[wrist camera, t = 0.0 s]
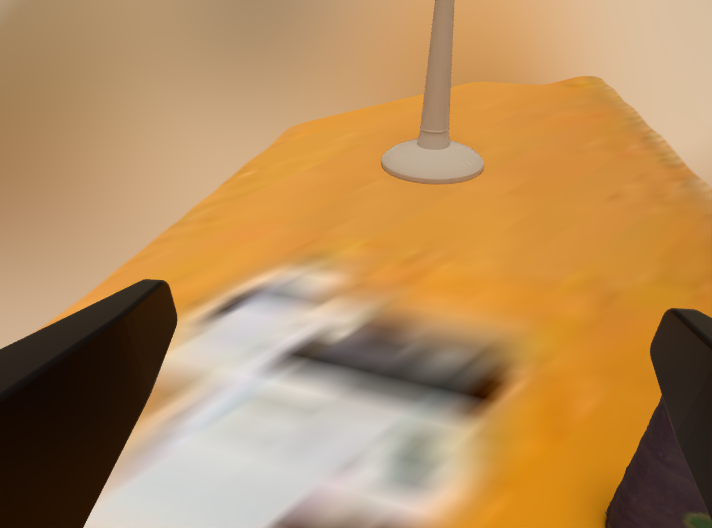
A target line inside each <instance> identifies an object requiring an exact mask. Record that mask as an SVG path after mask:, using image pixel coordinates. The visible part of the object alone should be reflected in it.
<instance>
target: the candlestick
mask: <svg viewBox="0 0 712 528" xmlns="http://www.w3.org/2000/svg"><path fill="white" fill-rule="evenodd" d="M453 18H454V0H435V6H434V15H433V23H432V32H431V41H430V49H429V58H428V67H427V76H426V85H425V93H424V102H423V111H422V119H421V126H420V134H419V137H418V139H415V140H410V141H406V142H403V143H400V144H397V145H395V146H394V147H392V148H390V149H389V150H388V151H387V152H385V153H384V155H383V156H382V162H381V164H382V167H383V169H384V170H385V171H386V172H387V173H389V174H390V175H392V176H395V177H397V178H400V179H403V180H407V181H411V182H416V183H424V184H451V183H458V182H463V181H467V180H470V179H473V178H475V177H477V176H478V175H479V174H481V172H482V171H483V167H484V161H483V159H482V158H481V156H480V155H479V154H478V153H477V152H475V151H474V150H473V149H471V148H470V147H468V146H466V145H463V144H460V143H458V142H454V141H450V140H449V112H450V89H451V65H452V42H453V20H454V19H453Z"/></svg>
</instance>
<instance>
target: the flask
mask: <svg viewBox="0 0 712 528" xmlns="http://www.w3.org/2000/svg"><path fill="white" fill-rule="evenodd" d="M605 513H606V515H607V520H606V526H605V528H712V521H711V519H710V516H709V514H708V512H707V509H706V507H705V505H704V502H703V500H702V498H701V495H700V493H699V491H698V489H697V486H696V484H695V482H694V479H693V477H692V475H691V472H690V470H689V468H688V465H687V463H686V461H685V459H684V456H683V454H682V452H681V449H680V447H679V444H678V442H677V439H676V437H675V434H674V431H673V428H672V425H671V422H670V419H669V416H668V413H667V409H666V406H665V403H664V399H663V396H661V399H660V402H659V404H658V406H657V407H656V409H655V411H654V413H653V415H652V418H651V420H650V422H649V425H648V426H647V430H646V431H645V433H644V435H643V437H642V438H641V440H640V443H639V446H638V448H637V451H636V453H635V454H634V456H633V458H632V460H631V462H630V464H629V465H628V467H627V468H626V471H625V474H624V477H623V479H622V481H621V483H620V485H619V486H618V488H617V490H616V492H615V494H614V497H613V499H612V501H611V502H610V505H609V507H608V509H607V512H605Z"/></svg>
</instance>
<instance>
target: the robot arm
mask: <svg viewBox="0 0 712 528" xmlns="http://www.w3.org/2000/svg"><path fill="white" fill-rule="evenodd" d="M176 325H177V312H176V308H175V305H174V301H173V297H172V294H171V290H170V287H169V285H168V283H167V282H166V281H164V280H151V279H145V280H142V281H140V282H138V283H135V284H133V285H131V286H129V287H127V288H125V289H123V290H121V291H119V292H117V293H115V294H113V295H111V296H109V297H107V298H105V299H103V300H101V301H99V302H96V303H94V304H92V305H90V306H88V307H86V308H84V309H82V310H80V311H78V312H76V313H74V314H72V315H70V316H68V317H66V318H64V319H62V320H60V321H57V322H55V323H53V324H51V325H49V326H47V327H45V328H43V329H41V330H39V331H37V332H35V333H33V334H31V335H29V336H27V337H25V338H23V339H21V340H18V341H17V342H14V343H13V344H10V345H8V346H6V347H4V348H2V349H0V528H83V527H84V525H85V523H86V521H87V519H88V517H89V515H90V513H91V511H92V509H93V507H94V505H95V503H96V501H97V499H98V497H99V495H100V493H101V491H102V489H103V487H104V485H105V484H106V482H107V480H108V478H109V476H110V474H111V472H112V470H113V468H114V466H115V464H116V462H117V460H118V458H119V456H120V454H121V452H122V450H123V448H124V446H125V444H126V442H127V440H128V438H129V436H130V434H131V432H132V430H133V428H134V426H135V424H136V422H137V420H138V419H139V417H140V415H141V413H142V411H143V409H144V407H145V405H146V403H147V400H148V398H149V396H150V394H151V392H152V389H153V387H154V384H155V382H156V379H157V377H158V374H159V371H160V369H161V366H162V363H163V361H164V358H165V355H166V353H167V350H168V347H169V345H170V342H171V339H172V337H173V334H174V331H175V329H176ZM650 355H651V360H652V363H653V366H654V370H655V373H656V376H657V380H658V383H659V386H660V389H661V393H662V396H663V399H664V403H665V406H666V409H667V413H668V416H669V419H670V422H671V425H672V428H673V431H674V434H675V437H676V439H677V442H678V444H679V447H680V449H681V452H682V454H683V456H684V459H685V461H686V463H687V465H688V468H689V470H690V472H691V475H692V477H693V479H694V482H695V484H696V486H697V489H698V491H699V493H700V495H701V498H702V500H703V502H704V505H705V507H706V509H707V512H708V514H709V516H710V519H711V521H712V318H710V317H709V316H707V315H705V314H703V313H701V312H700V311H697V310H694V309H680V308H671V309H669V310H667V311H666V312H665V313H664V315H663V317H662V319H661V322H660V324H659V326H658V329H657V331H656V333H655V336H654V338H653V340H652V343H651V347H650Z"/></svg>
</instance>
